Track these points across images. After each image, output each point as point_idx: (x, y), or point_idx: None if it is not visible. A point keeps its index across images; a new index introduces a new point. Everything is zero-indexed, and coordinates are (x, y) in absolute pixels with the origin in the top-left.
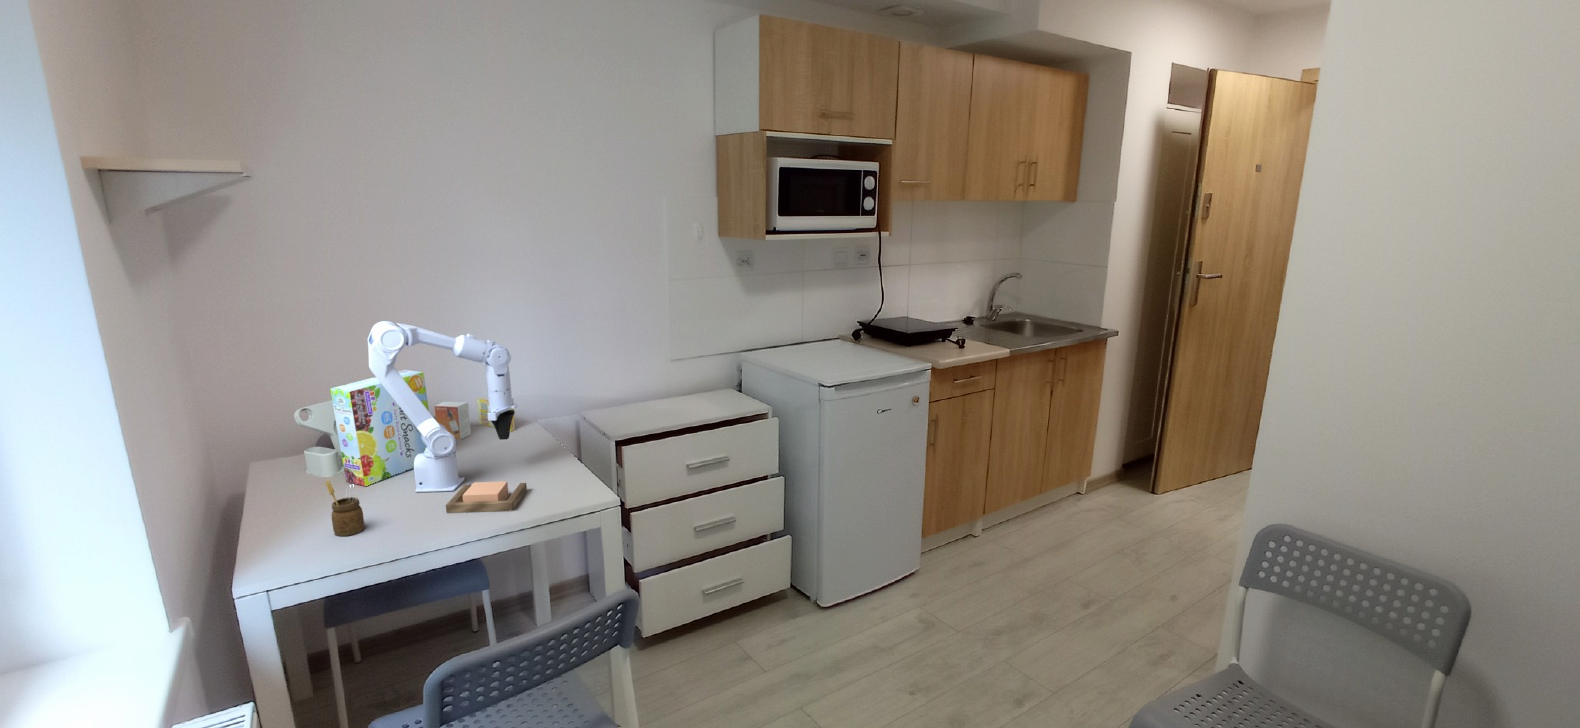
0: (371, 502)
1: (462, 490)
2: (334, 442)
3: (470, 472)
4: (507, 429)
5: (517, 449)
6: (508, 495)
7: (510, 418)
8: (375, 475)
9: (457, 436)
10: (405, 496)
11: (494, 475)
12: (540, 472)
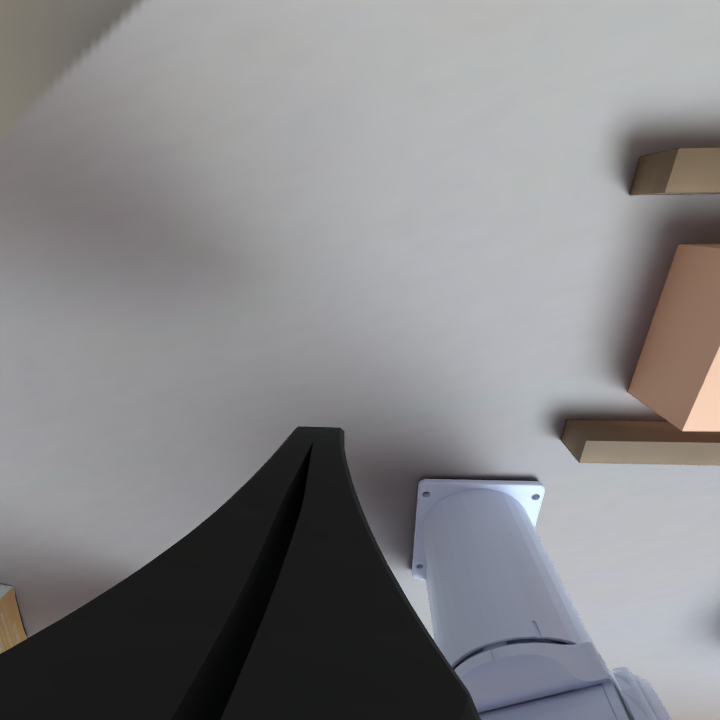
0: None
1: (653, 452)
2: None
3: None
4: (354, 495)
5: (38, 379)
6: (683, 244)
7: (277, 634)
8: None
9: (3, 605)
10: None
11: (379, 386)
12: (354, 155)
